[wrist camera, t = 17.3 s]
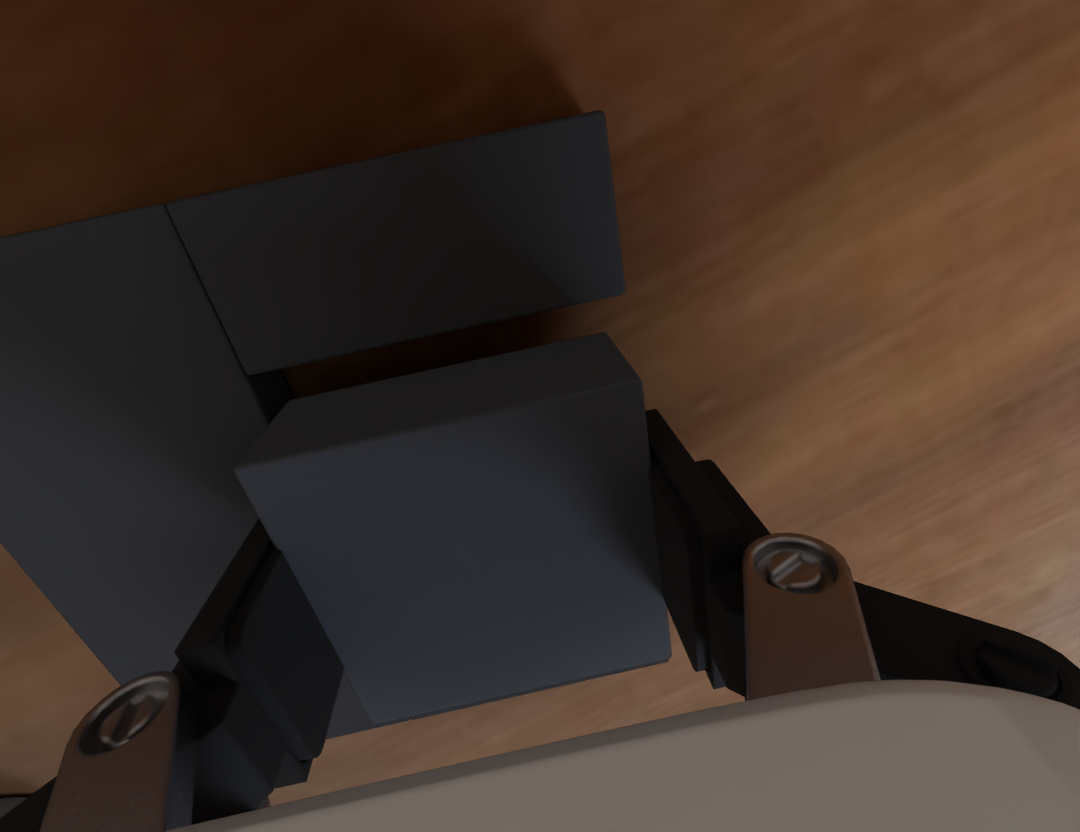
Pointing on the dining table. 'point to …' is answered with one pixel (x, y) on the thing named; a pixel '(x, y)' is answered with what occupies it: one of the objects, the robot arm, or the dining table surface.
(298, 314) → the dark grey notched block
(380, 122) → the dining table surface
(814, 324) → the dining table surface
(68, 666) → the dining table surface
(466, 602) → the grey block
